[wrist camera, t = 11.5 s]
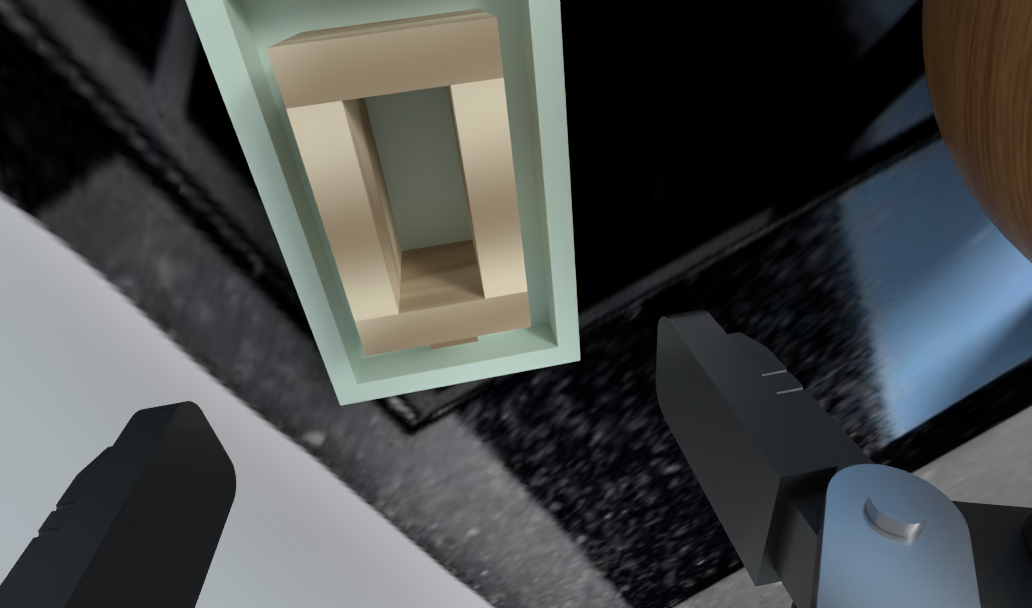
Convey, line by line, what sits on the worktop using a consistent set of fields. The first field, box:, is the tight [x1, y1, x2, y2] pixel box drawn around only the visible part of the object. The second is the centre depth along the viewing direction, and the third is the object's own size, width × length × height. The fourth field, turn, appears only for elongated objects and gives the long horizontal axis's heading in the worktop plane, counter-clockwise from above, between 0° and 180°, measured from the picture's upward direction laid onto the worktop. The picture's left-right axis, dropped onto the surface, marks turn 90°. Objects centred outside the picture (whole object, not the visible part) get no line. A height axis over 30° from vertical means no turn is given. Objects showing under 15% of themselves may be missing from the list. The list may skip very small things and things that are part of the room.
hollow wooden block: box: [266, 9, 531, 356], centre depth 19 cm, size 12×6×5 cm, turn 6°
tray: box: [185, 0, 580, 406], centre depth 21 cm, size 11×17×2 cm, turn 6°
